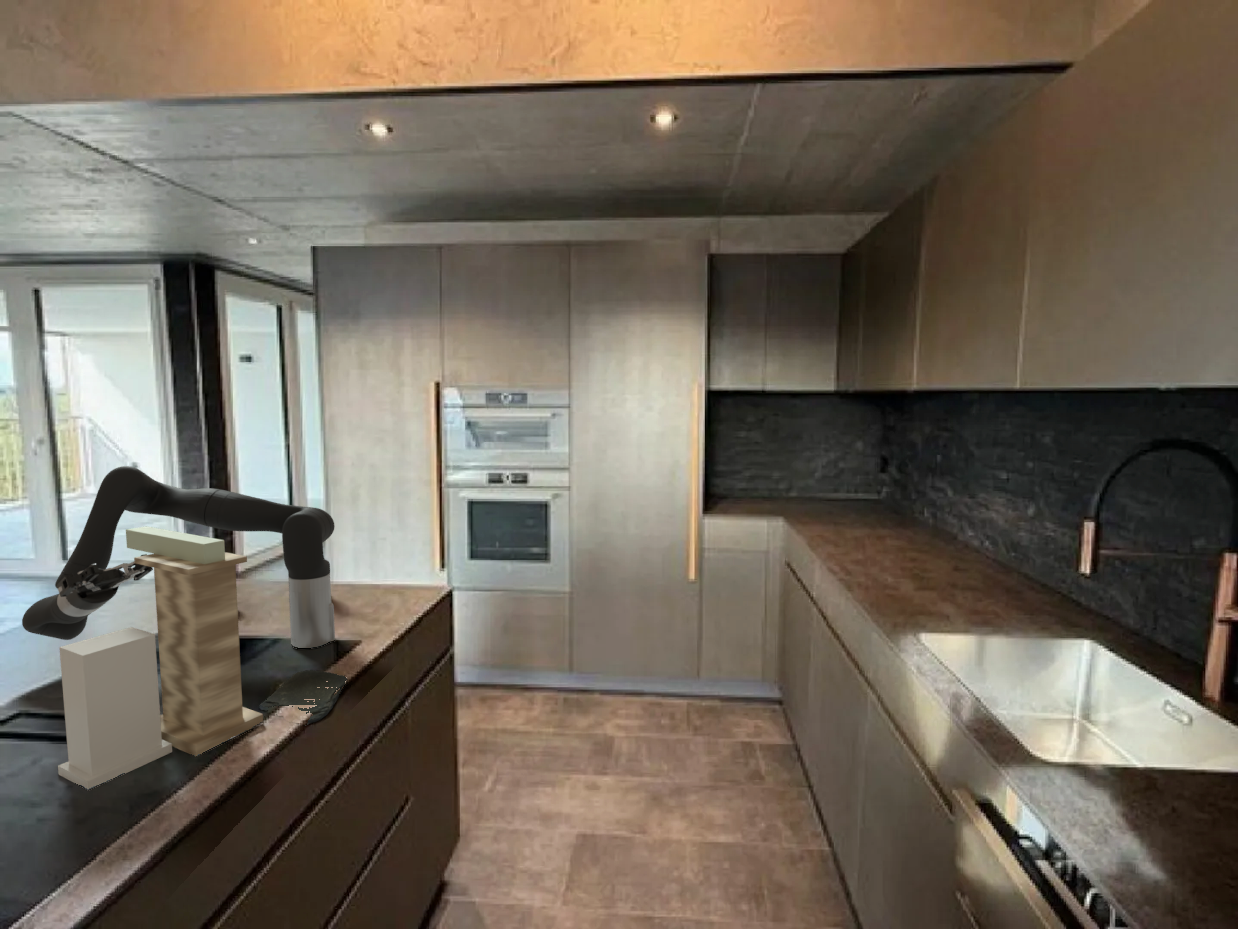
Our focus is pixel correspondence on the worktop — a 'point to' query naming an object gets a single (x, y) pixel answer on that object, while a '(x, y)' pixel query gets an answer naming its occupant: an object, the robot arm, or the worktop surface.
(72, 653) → the pedestal
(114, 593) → the robot arm
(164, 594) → the stand
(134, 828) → the worktop surface
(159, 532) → the bar
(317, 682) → the stone slab
